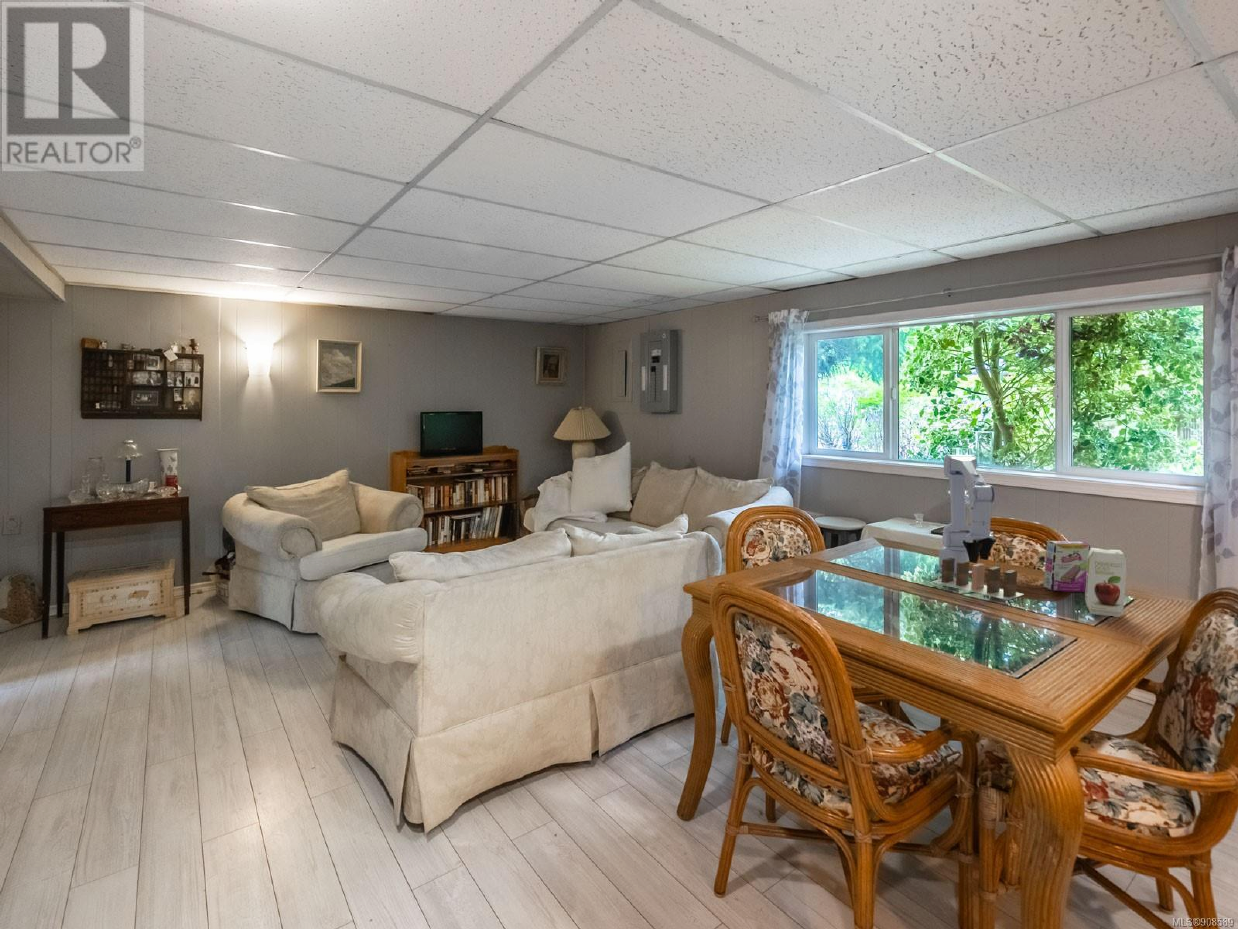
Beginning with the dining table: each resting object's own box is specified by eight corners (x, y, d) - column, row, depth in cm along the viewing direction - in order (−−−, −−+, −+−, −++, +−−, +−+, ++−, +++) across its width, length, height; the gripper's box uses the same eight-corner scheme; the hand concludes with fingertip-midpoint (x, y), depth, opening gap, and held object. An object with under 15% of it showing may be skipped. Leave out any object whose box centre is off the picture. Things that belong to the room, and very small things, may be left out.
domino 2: (956, 585, 206) (956, 562, 206) (963, 582, 209) (964, 560, 208) (960, 586, 205) (961, 563, 204) (968, 584, 208) (969, 561, 207)
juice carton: (1083, 607, 184) (1086, 546, 182) (1119, 611, 180) (1123, 549, 178) (1087, 614, 178) (1091, 551, 176) (1124, 619, 173) (1129, 554, 172)
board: (930, 583, 211) (930, 581, 211) (947, 578, 217) (947, 576, 217) (1007, 601, 190) (1008, 600, 190) (1024, 595, 196) (1024, 594, 196)
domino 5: (1003, 596, 194) (1004, 572, 193) (1010, 593, 197) (1011, 569, 196) (1008, 597, 193) (1009, 573, 192) (1015, 594, 195) (1017, 570, 195)
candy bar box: (1052, 592, 199) (1054, 543, 198) (1043, 587, 204) (1045, 540, 203) (1088, 592, 198) (1091, 544, 197) (1078, 588, 203) (1080, 540, 202)
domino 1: (941, 581, 211) (942, 559, 210) (949, 579, 213) (950, 557, 213) (946, 583, 209) (947, 560, 209) (953, 580, 212) (954, 558, 211)
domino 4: (986, 592, 198) (987, 568, 197) (994, 589, 201) (995, 566, 200) (991, 593, 197) (993, 569, 196) (999, 591, 199) (1000, 567, 199)
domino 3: (971, 588, 202) (972, 565, 202) (978, 586, 205) (979, 563, 204) (976, 590, 201) (977, 566, 200) (983, 587, 204) (984, 564, 203)
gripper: (981, 525, 194) (980, 566, 195) (1003, 520, 201) (1001, 560, 203) (959, 522, 200) (957, 562, 201) (981, 517, 207) (980, 556, 209)
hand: (978, 560), depth 202 cm, fingers open, 6 cm apart
